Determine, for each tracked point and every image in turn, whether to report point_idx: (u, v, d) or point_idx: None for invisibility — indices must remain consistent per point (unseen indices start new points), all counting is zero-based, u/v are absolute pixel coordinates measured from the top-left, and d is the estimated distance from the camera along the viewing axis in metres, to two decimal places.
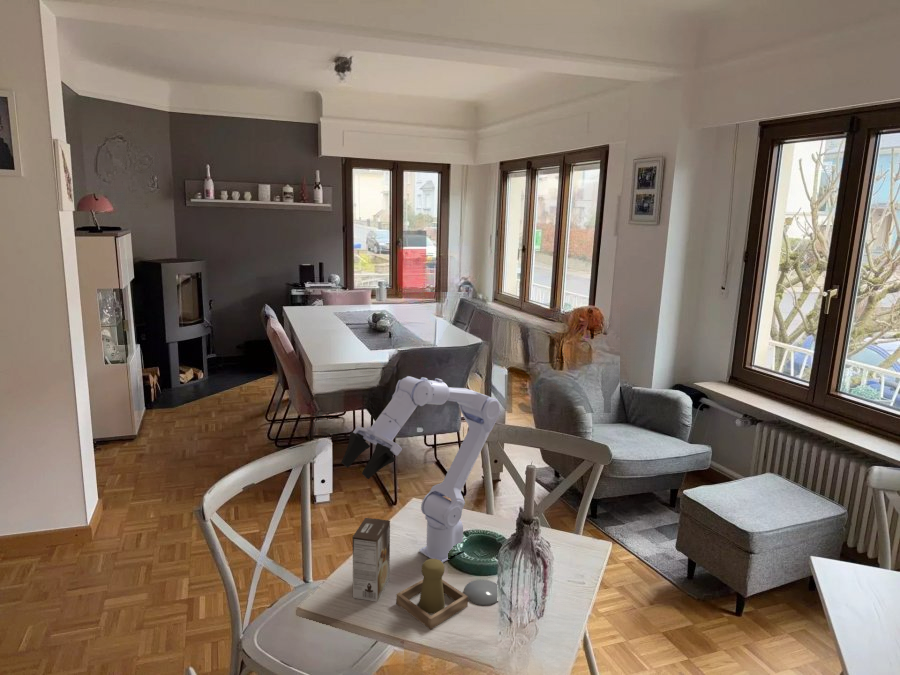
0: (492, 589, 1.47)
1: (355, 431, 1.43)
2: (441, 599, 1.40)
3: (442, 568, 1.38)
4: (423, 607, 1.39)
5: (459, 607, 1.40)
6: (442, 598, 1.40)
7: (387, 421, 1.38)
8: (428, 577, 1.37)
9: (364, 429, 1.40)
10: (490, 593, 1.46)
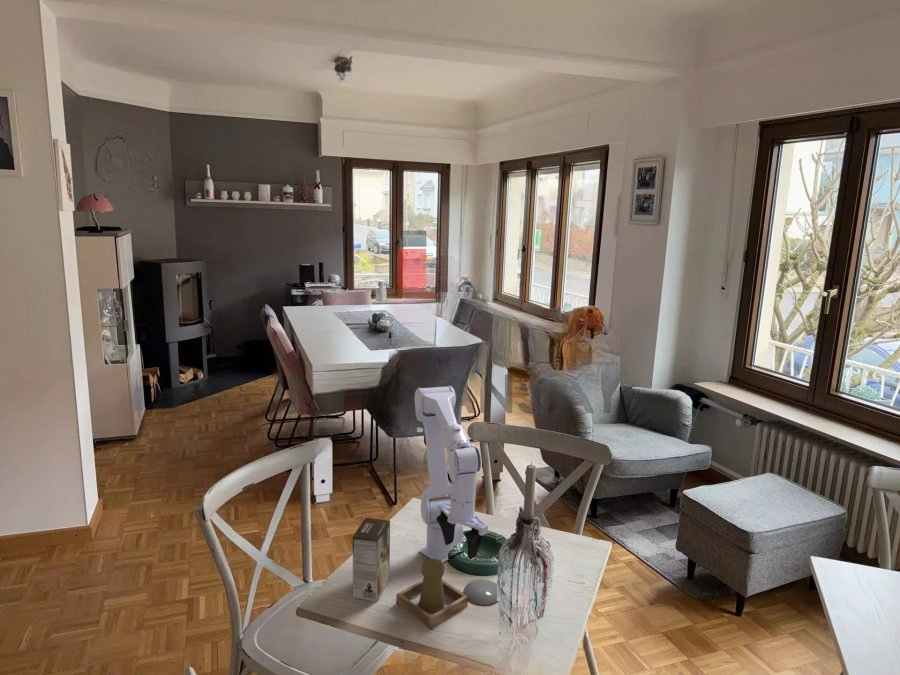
0: (492, 589, 1.47)
1: (439, 510, 1.48)
2: (441, 599, 1.40)
3: (442, 568, 1.38)
4: (423, 607, 1.39)
5: (459, 607, 1.40)
6: (442, 598, 1.40)
7: (460, 507, 1.40)
8: (428, 577, 1.38)
9: (445, 513, 1.44)
10: (490, 593, 1.46)
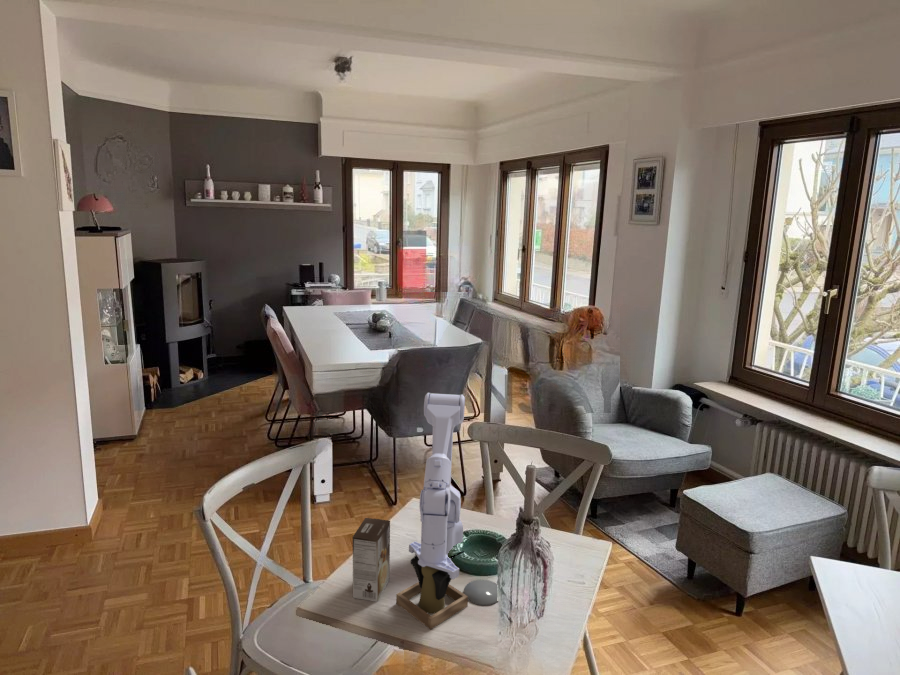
0: (492, 589, 1.47)
1: (410, 550, 1.43)
2: (441, 599, 1.40)
3: None
4: (423, 607, 1.39)
5: (459, 607, 1.40)
6: (442, 598, 1.40)
7: (431, 549, 1.35)
8: (428, 577, 1.37)
9: (416, 554, 1.40)
10: (490, 593, 1.46)
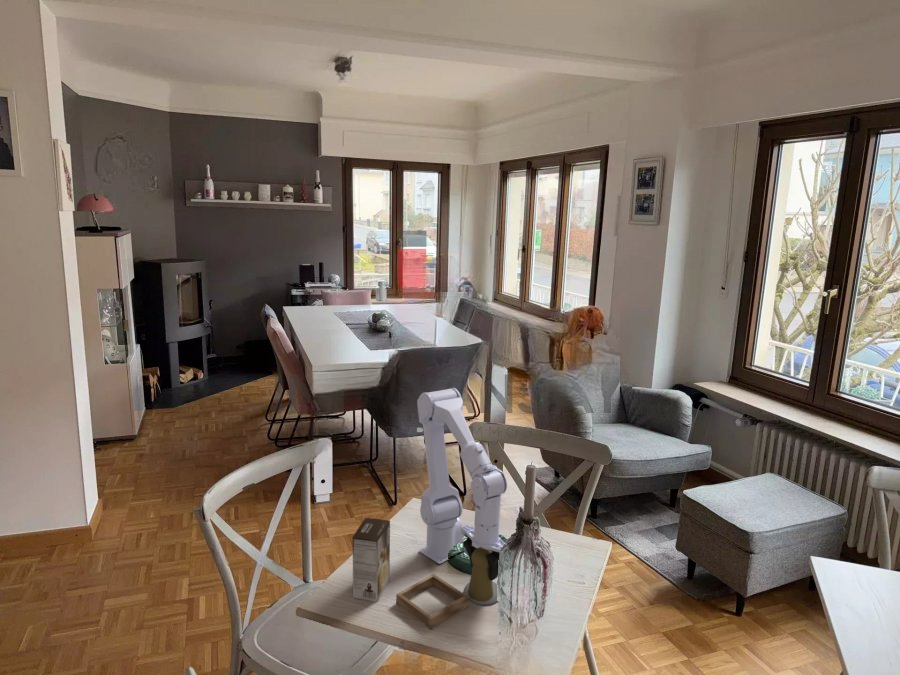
0: None
1: (462, 533, 1.47)
2: (490, 588, 1.43)
3: None
4: (472, 595, 1.43)
5: (459, 607, 1.40)
6: (490, 587, 1.44)
7: (485, 531, 1.40)
8: (477, 565, 1.42)
9: (469, 537, 1.44)
10: None
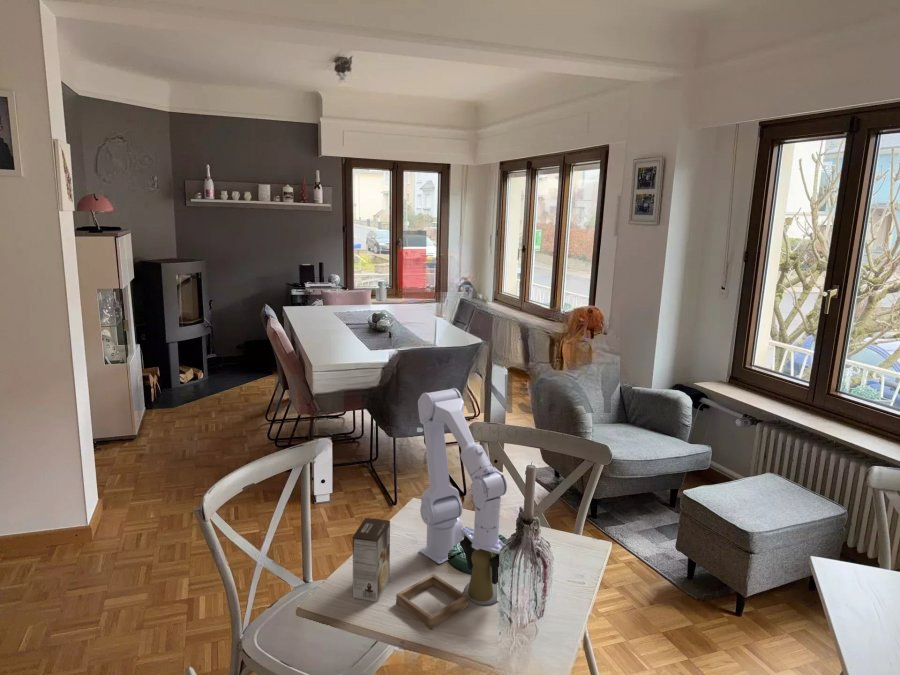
0: None
1: (462, 535, 1.48)
2: (490, 588, 1.43)
3: (491, 557, 1.42)
4: (472, 595, 1.43)
5: (459, 607, 1.40)
6: (490, 587, 1.44)
7: (485, 533, 1.40)
8: (477, 565, 1.42)
9: (469, 538, 1.44)
10: None
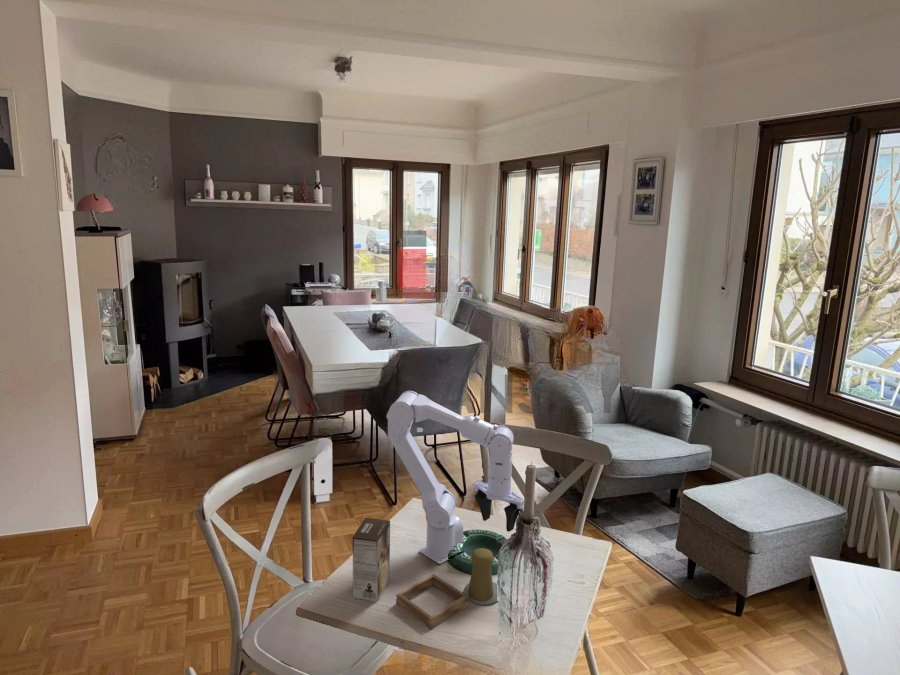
0: None
1: (476, 489, 1.59)
2: (490, 588, 1.43)
3: (491, 557, 1.42)
4: (472, 595, 1.43)
5: (459, 607, 1.40)
6: (490, 587, 1.44)
7: (499, 484, 1.52)
8: (477, 565, 1.42)
9: (483, 491, 1.56)
10: None
